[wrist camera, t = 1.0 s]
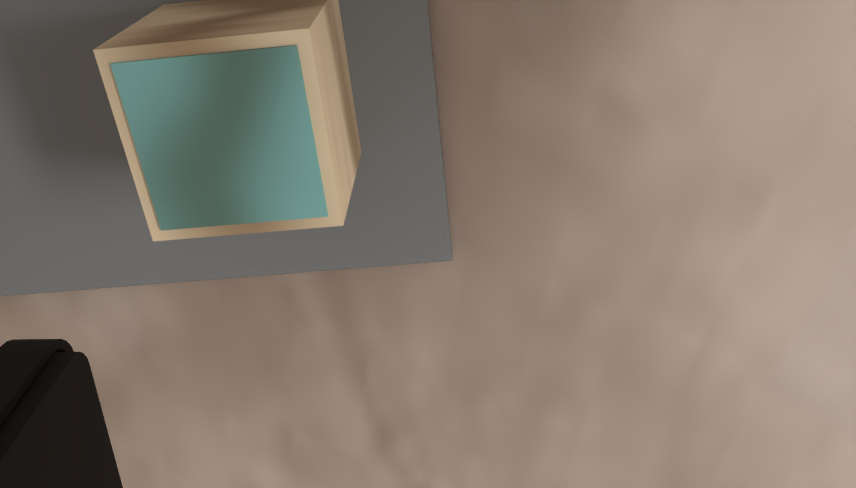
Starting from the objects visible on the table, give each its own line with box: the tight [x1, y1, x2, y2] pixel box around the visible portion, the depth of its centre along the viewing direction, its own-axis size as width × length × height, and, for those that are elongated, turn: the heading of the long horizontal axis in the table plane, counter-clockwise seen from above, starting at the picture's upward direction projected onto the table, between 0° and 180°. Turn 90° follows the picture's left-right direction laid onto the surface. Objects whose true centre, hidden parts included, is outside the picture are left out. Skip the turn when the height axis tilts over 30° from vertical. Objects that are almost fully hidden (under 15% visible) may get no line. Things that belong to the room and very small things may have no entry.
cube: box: [93, 0, 361, 241], centre depth 25 cm, size 6×6×6 cm
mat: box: [0, 0, 452, 296], centre depth 28 cm, size 24×16×1 cm, turn 96°
